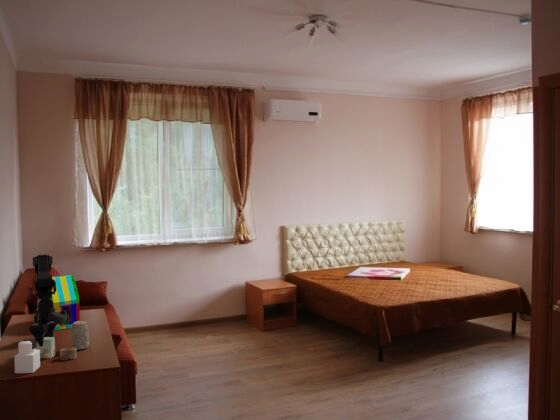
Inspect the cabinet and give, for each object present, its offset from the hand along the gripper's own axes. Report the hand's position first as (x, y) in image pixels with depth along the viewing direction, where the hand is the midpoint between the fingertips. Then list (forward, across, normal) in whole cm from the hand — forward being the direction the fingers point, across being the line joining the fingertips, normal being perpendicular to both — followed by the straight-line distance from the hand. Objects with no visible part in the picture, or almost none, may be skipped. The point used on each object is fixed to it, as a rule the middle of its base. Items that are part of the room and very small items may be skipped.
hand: (46, 342), depth 214 cm
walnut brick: (+6, -2, -10) cm, 12 cm away
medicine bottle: (+6, -15, +1) cm, 16 cm away
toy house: (+6, +51, +14) cm, 53 cm away
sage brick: (+2, 0, 0) cm, 2 cm away
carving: (+6, +10, -11) cm, 16 cm away
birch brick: (+6, 0, 0) cm, 6 cm away
